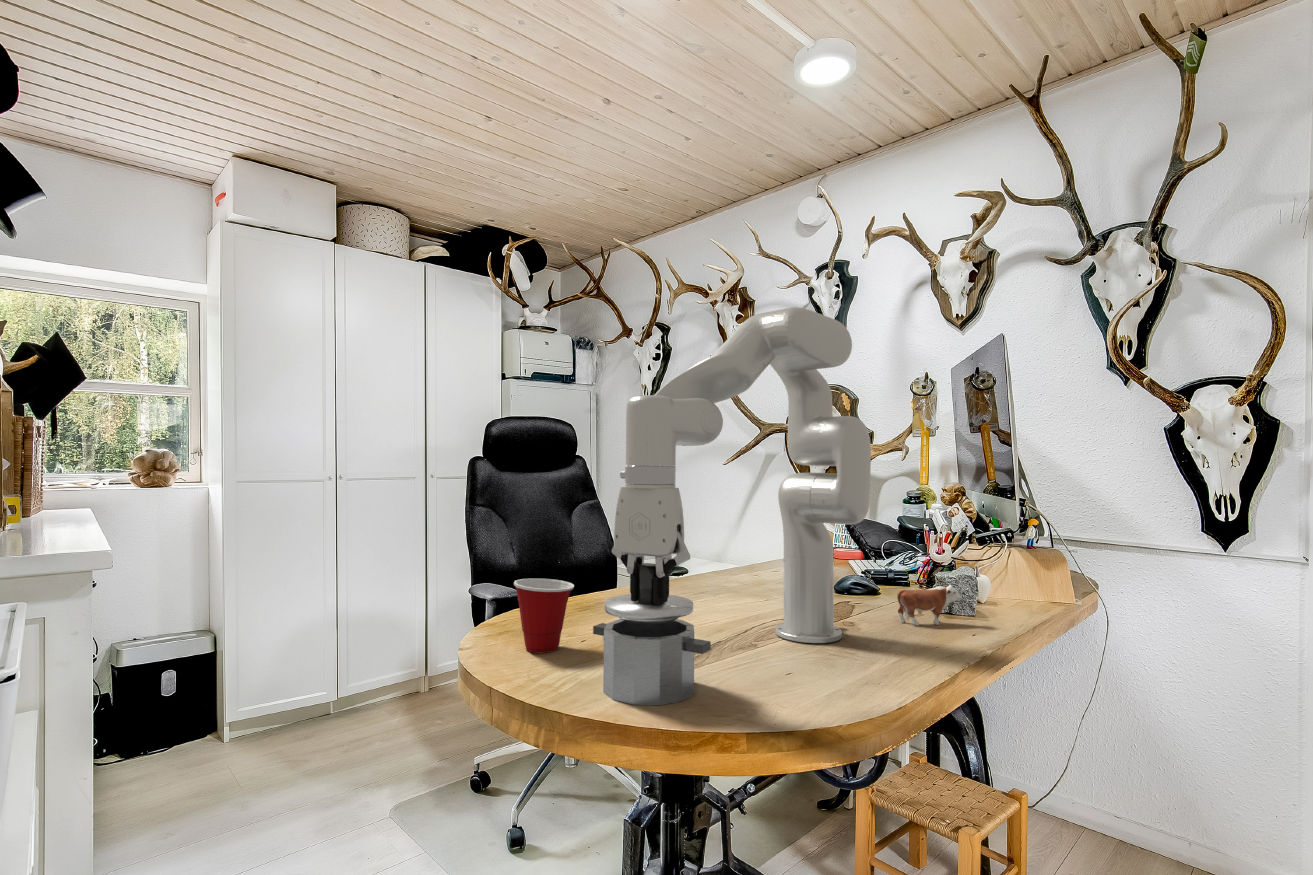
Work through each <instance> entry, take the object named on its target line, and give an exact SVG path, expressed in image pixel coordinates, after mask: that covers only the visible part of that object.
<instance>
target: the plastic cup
mask: <svg viewBox="0 0 1313 875" xmlns="http://www.w3.org/2000/svg"><path fill="white" fill-rule="evenodd" d="M513 586H514V587H515V591H516V595H517V601H518V608H519V615H520V623H521V629H522V633H523V640H524V647H525V649H526V651H527V652H530V653H531V654H533V653H535V654H546V653H551V652H555V651H557V650H558V649H559V645H560V642H561V641H560V640H561V634H562V631H563V628H564V627H563V626H564V620H565V616H566V615H565V614H566V611H567V606H568V605H567V603H568V601H569V597H570V594H571V593H572V590H573V589H574V587H575V584H573V583H572V582H569V581H566V580H565V581H564V580H561V579H560V580H559V579H551V578H522V579H517V580H514V582H513Z"/></svg>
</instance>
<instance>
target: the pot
mask: <svg viewBox="0 0 1313 875" xmlns="http://www.w3.org/2000/svg"><path fill="white" fill-rule="evenodd" d="M592 627H593V628H592V635H596V636H602V637H603V638H604V640H603V681H602V682H603V683H602V686H603V687H602V688H603V690H602V691H603V693H604V694H605V695H606V696H608V697H609V698H611V700H613V701H617V702H621V703H624V704H629V705H632V706H665V705H669V704H673V703H674V704H675V703H680V702H683V701H685V700H687V699H688V698H689V697H692V696H693V695H694V694H695V654H701V655H704V654H706V653H708V652H710V651H712V649H711V648H712V647H711V645H712V644H711V643H712V642H711V641H710V640H704V639H698V638H695V628H694V627H695V625H694V624H692V623H690V622H687V621H685V620H683V619H679V618H678V619H676V620H674V621H671V622H665V623H653V624H647V623H634V622H628V621H625V620H622V619H620V618H619V619H616V620H614V621H611V622H608V623H604V622H601V623H599V624H596V625H593V626H592Z"/></svg>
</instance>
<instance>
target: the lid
mask: <svg viewBox="0 0 1313 875" xmlns="http://www.w3.org/2000/svg"><path fill="white" fill-rule="evenodd" d="M654 577H657V574H656V563H644V564H640V565H639V581H638V601H635V602H634V601H631V593H630V594H629V593H628V594H621V595H617V596H613V597H610V598H608V599H606V600H605V601H604V612H605V613H606V614H607V615H610V616H612V617H613V616H614V617H617V618H619V619H622V620H625V621H628V622H634V623H647V624H653V623H665V622H671V621H674V620H676V619H679V618H683V617H686V616H688V615H691V614H692V613H693V612H694V602H693V600H691V599H689V598H686V597H683V596H679V595H673V594H669V597H668V601H667V602H665V603H662V604H659V605H655V604H654V603H653V578H654Z"/></svg>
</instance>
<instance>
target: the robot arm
mask: <svg viewBox="0 0 1313 875" xmlns="http://www.w3.org/2000/svg"><path fill="white" fill-rule="evenodd" d="M852 350H853V342H852V337H851V334H850V331H849V330H848V328H847V327H846V326H845V324H843V323H842V322H840V321H839V320H837V319H835V318H832V317H829V316H827V315H824V314H821V313H820V312H819V313H818V312H816V311H813V310H811V309H807V308H803V307H788V308H782V309H777V310H772V311H770V310H769V311H766V312H761V313H760V312H759V313H757V314H754V315H751V316H749V317H748V318H747V319H746V320H744V321H743V322H742V323H741V324H740V325H739V326H738V327H737V329H736V330H735V331H734V332H733V333H732V334H730V336H729V337H728V338H727V339H726V340H725V341H724V342H723V344H721V345H720V347H719V348H717V349H716V351H715V352H714V353H713V354H712V355H710V356H708V357H707V358H705V359H703V360H701V361H699V362H697V363H696V364H695V365H693V366H691V367H689V368H688V369H686V370H685V371H683V372H681V373H680V374H678V375H676V376H674V377H673V378H672V379H670V380H669V381H667V382H666V383H665V384H664V385H662V386H661V387H660V388H659V389H658V390H657V391H656V393H654V394H652V395H651V394H649V395H645V394H644V395H635V396H633V397H631V398H630V399H628V401H627V404H626V413H625V415H626V418H625V419H626V420H625V421H626V422H625V424H626V425H625V430H626V431H625V433H626V434H625V469H621V470H620V472H619V477H620V478H621V479H624V483H625V486H621V487H620V489H619V492H618V498H617V503H616V509H615V516H614V517H615V518H614V529H613V546H612V548H611V553H612V555H614V556H615V557H617V559H619V560H620V561H621V563H622V564H623V565H624V566H625V568H626V573H627V574H628V575H629V592H630V594H631V601H634V602H635V601H638V581H639V565H640V564H645V557H654V561H655V564H656V574H657V577H654V578H653V603H654V604H655V605H659V604H662V603H665V602H667V601H668V597H669V595H670V576H671V575H673V573H674V571H675V570H676V569H677V568H678V567H679V566H680V565H682V564H684V563H686V562H688V561H689V560H691V554H690V552H689V550H688V548H687V546H686V544H685V521H684V520H685V519H684V509H683V502H682V496H681V492H680V488H679V487H676V469H677V468H676V467H677V466H676V462H677V461H676V460H677V459H676V457H677V455H676V454H677V453H676V452H677V449H676V448H677V446H681V447H694V446H697V447H699V446H704V445H707V444H710V443H712V442H713V441H715V440H716V439H717V438H718V437H719V435H720V434H721V432H722V430H723V427H724V419H723V414H722V412H721V409H720V408H719V407H718V406H717V405H716V404H717V403H719V402H723V401H726V400H729V399H731V398H734V397H737V396H739V395H741V394H743V393H745V392H746V391H747V390H749V389H750V388H751V387H752V386H753V384H754V383H755V382H756V381H757V379H758V378H759V377H760V376H761V375H762V373H764V371H765V370H766V369H767V367H768V366H769V365H770V366H771V368H773V370H774V371H775V373H776V374H777V375H778V376H779V378H780V379H781V382H782V383H783V385H784V387H785V390H786V393H787V398H788V399H787V400H788V410H787V411H788V412H787V414H788V415H787V452H788V455H789V458H790V459H791V461H792V462H794V463H795V464H798V465H799V466H808V467H809V466H812V467H813V466H814V467H836V473H833V472H830V473H829V472H827V473H826V472H798V473H792V474H791V475H789V476H787V477H786V478H784V479H783V480H782V481H781V483H780V486H779V488H778V493H777V494H778V497H777V499H778V506H779V511H780V517H781V522H782V532H783V535H782V536H783V622H782V623H779V624H778V625H776V626H775V635H777V636H778V637H780V638H782V639H785V640H788V641H790V642H791V641H792V642H797V643H806V644H827V643H834V642H837V641H839V640H842V638H843V631H842V629H841V628H839V627H837V626H835V625H834V624H835V623H834V618H835V611H834V609H835V608H834V604H835V603H834V601H835V600H834V599H835V598H834V597H835V596H834V595H835V594H834V587H835V586H834V580H835V579H834V576H835V575H834V574H835V573H834V554H835V553H834V543H833V540H832V537H831V534H830V532H829V530H828V529H827V527H826V525H825V524H836V525H837V524H838V525H857V524H859V523H861V522H863V520H864V519H865V518H866V517H867V515H868V512H869V507H870V503H871V502H870V501H871V500H870V499H871V459H872V458H871V456H872V451H871V450H872V448H871V446H872V445H871V438H870V434H869V431H868V428H867V426H866V425H865V423H864V422H863V421H862V420H861V419H860V418H857V417H855V416H851V415H846V416H845V415H841V416H839V415H837V416H836V415H835V416H834V415H833V414H834V413H833V393H832V389H831V387H830V385H829V383H828V382H827V380H826V379H825V377H824V376H823V375H822V374H821V372H820V371H819V369H830V368H836V367H840V366H841V365H843V364H845V363H846V362H847V361H848V359H849V358H850V356H851V353H852ZM824 523H825V524H824ZM675 554H676V555H675ZM672 555H675V556H674V557H672Z"/></svg>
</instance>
